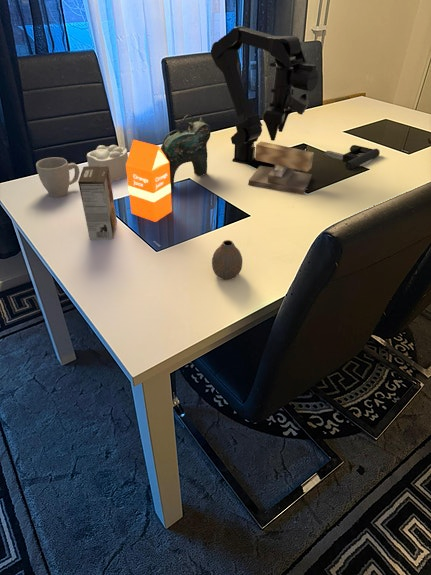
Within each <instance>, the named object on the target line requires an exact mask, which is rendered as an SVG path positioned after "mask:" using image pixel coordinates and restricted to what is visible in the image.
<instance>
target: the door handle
mask: <svg viewBox="0 0 431 575" xmlns="http://www.w3.org/2000/svg"><path fill="white" fill-rule="evenodd" d="M324 156H327V157H331V158H334V159H337V160H339V161H342V162H343V163H345V165H344V166H345V168H346V169H347V170H353V169H355V168H357V167H362V166H364V165H366V164H369V163H370V162H372V161H373V159H375V158H377V157H380V149H378V148H369V147H365V146H361V145H357V144H353V145H351V146H350V148H349V152H347V153H340V152H335V151H331V150H326V151H325V152H324Z"/></svg>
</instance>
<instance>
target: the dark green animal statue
mask: <svg viewBox="0 0 431 575" xmlns="http://www.w3.org/2000/svg"><path fill="white" fill-rule="evenodd" d="M189 117H190V118H191V120H192V122H188V121H187V124H188V125H189V126H188V128H187V130H180V129H174V130H172V131H170V132H168V133H167V134H166V135H165V136H164V137H163V139H162V140H163V141H162V144H161V146H160V148H161V150H162V152H163V153H164V155H165V156H166V158H167V160H168V161H169V167H170V183H171V188H174V186H175V176H176V172H177V171H178V169H179V167H180V166H181V165H183V164H187V163H190V162H191V163H192V167H193V172H194V175H196V176H199V177H202V176H205V175H207V174H208V147H207V144H208V142H209V140H210V139H211V138H210V137H211V128H210V127H211V126H210V125H209V124H207V123H205V121H204V118H203V117H202V116H200V118H199V121H194V117H193V116H192V115H191V114H186V115H185V116H184V117H183V119H182V121H183V122H185V120H186V119H187V118H189ZM174 132H176V133H174ZM171 134H172V135H171Z"/></svg>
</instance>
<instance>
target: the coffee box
mask: <svg viewBox="0 0 431 575" xmlns="http://www.w3.org/2000/svg"><path fill="white" fill-rule="evenodd" d="M80 172H81V173H80V174H79V177H78V180H77V181H78V187H79V188H78V189H79V194H80V199H81V202H82V207H83V212H84V218H85V222H86V227H87V232H88V238H89V240H113V239H115V234H116V229H117V228H116V227H117V223H118V219H117V213H116V212H117V211H116V207H115V200H114V194H113V187H112V181H111V180H110V174H109V167H100V166H88V165H87V166H83V167H82V170H81V171H80Z"/></svg>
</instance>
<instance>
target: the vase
mask: <svg viewBox="0 0 431 575" xmlns="http://www.w3.org/2000/svg"><path fill="white" fill-rule="evenodd" d="M211 267H212V271H213V272H214V274H215V275H216V276H217V277H218V278H219V279H221V280H223V281H229V280H230V281H231V280H233V279H235V278H237V276H239V274H240V272H241V271H242V268H243V256H242V254H241V251H240V249H239V248H238V247H237V246H236V245H235V243H234V242H233V240H230V239H226V240H224V241H222V243H221V244H220V246H218V247H217V249H216V250H215V251H214V252H213V255H212V259H211Z"/></svg>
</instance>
